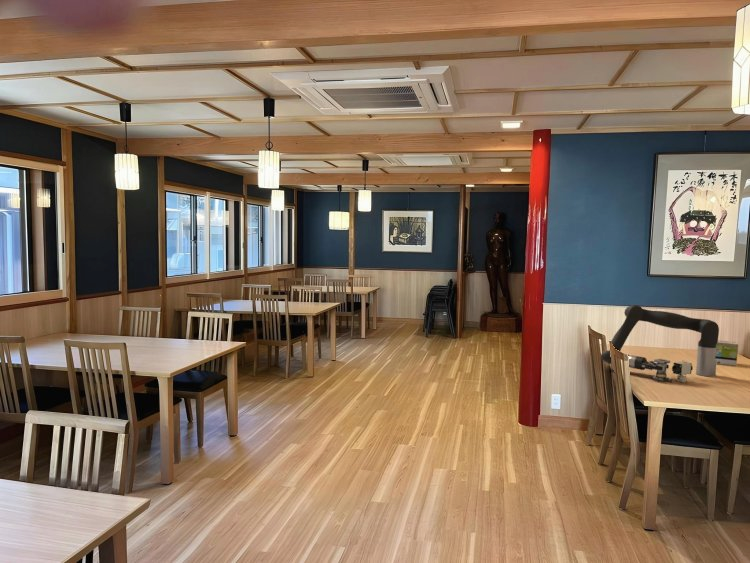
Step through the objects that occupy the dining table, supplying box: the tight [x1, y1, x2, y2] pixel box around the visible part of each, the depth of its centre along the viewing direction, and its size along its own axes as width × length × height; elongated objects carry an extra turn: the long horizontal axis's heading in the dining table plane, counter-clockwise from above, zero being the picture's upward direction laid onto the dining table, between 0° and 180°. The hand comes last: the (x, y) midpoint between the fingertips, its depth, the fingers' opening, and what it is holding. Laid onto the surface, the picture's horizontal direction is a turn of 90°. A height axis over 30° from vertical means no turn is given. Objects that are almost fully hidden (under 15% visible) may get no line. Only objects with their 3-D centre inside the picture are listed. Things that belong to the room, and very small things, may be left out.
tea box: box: [715, 339, 739, 366], centre depth 360 cm, size 15×10×15 cm, turn 68°
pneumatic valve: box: [671, 360, 694, 383], centre depth 307 cm, size 6×12×12 cm, turn 115°
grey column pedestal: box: [652, 358, 671, 381], centre depth 310 cm, size 6×6×11 cm
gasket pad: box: [650, 376, 673, 383], centre depth 310 cm, size 8×8×1 cm
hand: (665, 367), depth 308 cm, fingers open, 8 cm apart
